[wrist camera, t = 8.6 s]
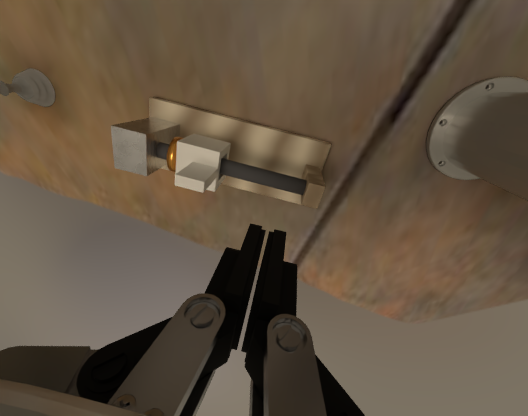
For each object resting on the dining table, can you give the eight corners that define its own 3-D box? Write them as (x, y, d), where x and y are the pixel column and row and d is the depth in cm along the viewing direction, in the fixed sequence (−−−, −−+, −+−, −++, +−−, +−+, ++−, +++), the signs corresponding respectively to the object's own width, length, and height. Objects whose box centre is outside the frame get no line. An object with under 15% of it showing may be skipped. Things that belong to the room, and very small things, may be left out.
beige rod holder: (329, 142, 33) (341, 159, 25) (308, 202, 38) (311, 232, 30) (154, 96, 33) (110, 99, 25) (155, 162, 38) (117, 182, 30)
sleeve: (230, 143, 30) (206, 163, 22) (225, 177, 33) (201, 208, 24) (194, 133, 30) (155, 150, 22) (191, 168, 33) (155, 196, 24)
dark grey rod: (306, 177, 30) (307, 183, 28) (301, 191, 31) (302, 197, 29) (148, 136, 30) (139, 139, 28) (149, 151, 30) (140, 155, 29)
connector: (200, 129, 33) (172, 141, 25) (197, 162, 35) (170, 182, 28) (152, 117, 33) (110, 125, 25) (153, 150, 35) (114, 167, 28)
